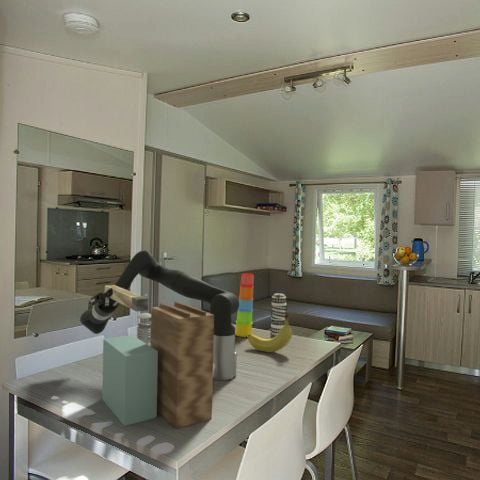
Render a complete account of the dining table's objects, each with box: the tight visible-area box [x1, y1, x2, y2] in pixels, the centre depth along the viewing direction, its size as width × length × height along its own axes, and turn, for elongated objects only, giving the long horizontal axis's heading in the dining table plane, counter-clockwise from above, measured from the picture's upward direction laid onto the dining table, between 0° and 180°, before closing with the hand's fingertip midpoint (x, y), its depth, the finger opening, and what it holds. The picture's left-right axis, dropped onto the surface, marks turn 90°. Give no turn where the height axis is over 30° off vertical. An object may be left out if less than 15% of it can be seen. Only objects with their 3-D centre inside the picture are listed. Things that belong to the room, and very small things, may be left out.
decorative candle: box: [269, 292, 288, 339], centre depth 213 cm, size 9×9×25 cm
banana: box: [247, 312, 293, 353], centre depth 191 cm, size 23×6×20 cm, turn 62°
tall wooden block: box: [150, 301, 214, 430], centre depth 126 cm, size 12×20×33 cm, turn 35°
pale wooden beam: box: [104, 284, 149, 312], centre depth 131 cm, size 4×32×4 cm, turn 35°
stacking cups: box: [235, 273, 255, 338], centre depth 222 cm, size 10×10×35 cm
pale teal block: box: [101, 334, 158, 427], centre depth 127 cm, size 10×22×20 cm, turn 35°
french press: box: [136, 293, 151, 346], centre depth 201 cm, size 10×12×25 cm
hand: (117, 290), depth 137 cm, fingers closed on pale wooden beam, 3 cm apart
